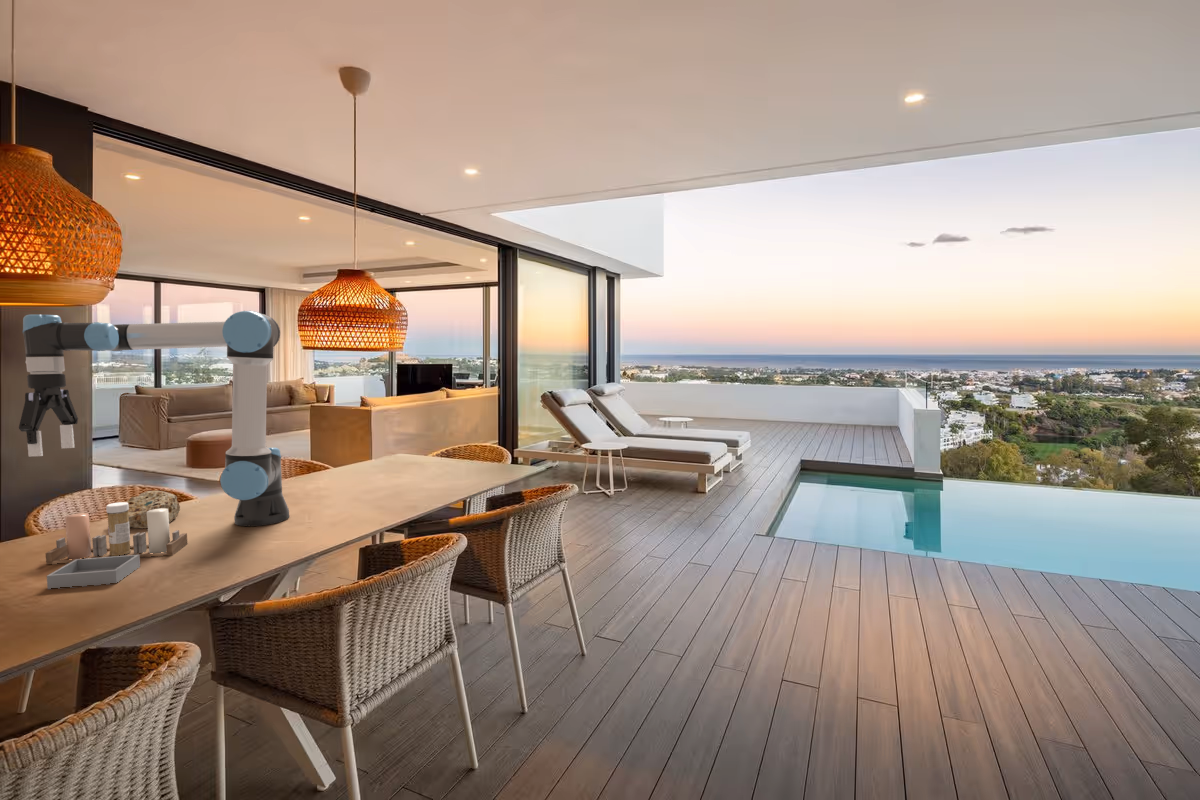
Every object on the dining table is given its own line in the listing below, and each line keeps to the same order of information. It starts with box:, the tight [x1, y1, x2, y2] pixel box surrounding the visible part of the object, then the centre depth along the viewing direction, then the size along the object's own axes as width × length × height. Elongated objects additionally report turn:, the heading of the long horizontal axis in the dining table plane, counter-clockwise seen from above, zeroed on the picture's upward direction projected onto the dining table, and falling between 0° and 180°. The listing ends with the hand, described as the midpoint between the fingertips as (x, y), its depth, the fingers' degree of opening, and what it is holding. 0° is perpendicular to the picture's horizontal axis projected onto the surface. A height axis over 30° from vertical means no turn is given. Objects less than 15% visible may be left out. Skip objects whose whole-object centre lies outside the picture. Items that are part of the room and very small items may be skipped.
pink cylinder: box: [64, 512, 93, 560], centre depth 155 cm, size 5×5×11 cm
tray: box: [46, 554, 141, 590], centre depth 141 cm, size 13×11×3 cm
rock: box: [125, 489, 181, 529], centre depth 189 cm, size 21×14×10 cm
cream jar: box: [147, 508, 171, 554], centre depth 160 cm, size 5×5×11 cm
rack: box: [45, 529, 188, 565], centre depth 158 cm, size 27×10×5 cm, turn 105°
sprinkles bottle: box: [105, 501, 132, 557], centre depth 158 cm, size 5×5×13 cm
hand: (52, 452), depth 162 cm, fingers open, 13 cm apart
